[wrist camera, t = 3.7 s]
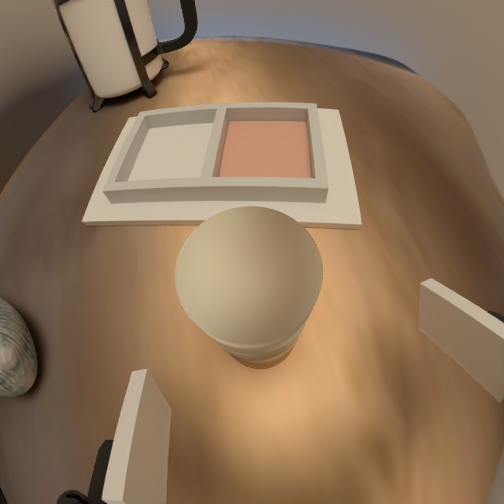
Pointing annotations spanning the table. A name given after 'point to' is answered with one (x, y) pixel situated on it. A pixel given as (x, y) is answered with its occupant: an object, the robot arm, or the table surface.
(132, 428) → the robot arm
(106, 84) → the coffee press
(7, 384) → the yarn ball
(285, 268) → the peg
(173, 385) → the table surface
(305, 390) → the table surface
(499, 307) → the table surface
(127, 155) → the white flat tray
